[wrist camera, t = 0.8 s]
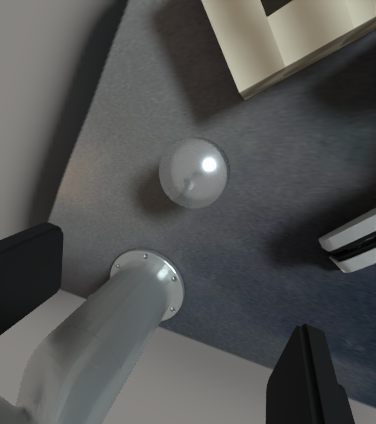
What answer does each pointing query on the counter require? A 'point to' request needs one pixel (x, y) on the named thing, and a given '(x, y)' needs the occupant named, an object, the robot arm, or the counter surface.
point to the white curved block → (353, 243)
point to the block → (284, 36)
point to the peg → (194, 172)
